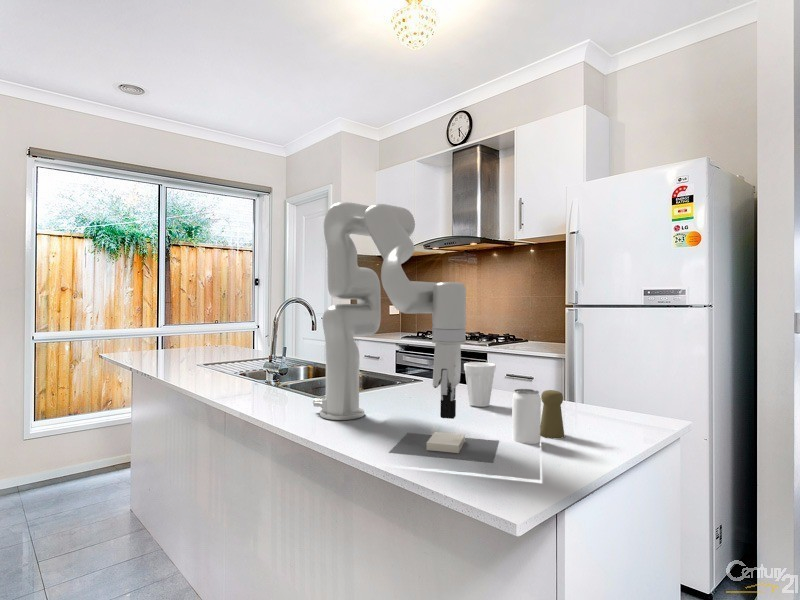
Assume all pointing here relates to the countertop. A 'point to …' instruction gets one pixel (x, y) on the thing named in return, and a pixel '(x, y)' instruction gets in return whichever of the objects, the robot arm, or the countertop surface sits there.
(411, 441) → the mat
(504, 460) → the countertop surface
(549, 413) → the cork
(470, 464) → the countertop surface
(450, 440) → the tile
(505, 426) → the countertop surface
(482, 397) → the cup
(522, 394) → the can
